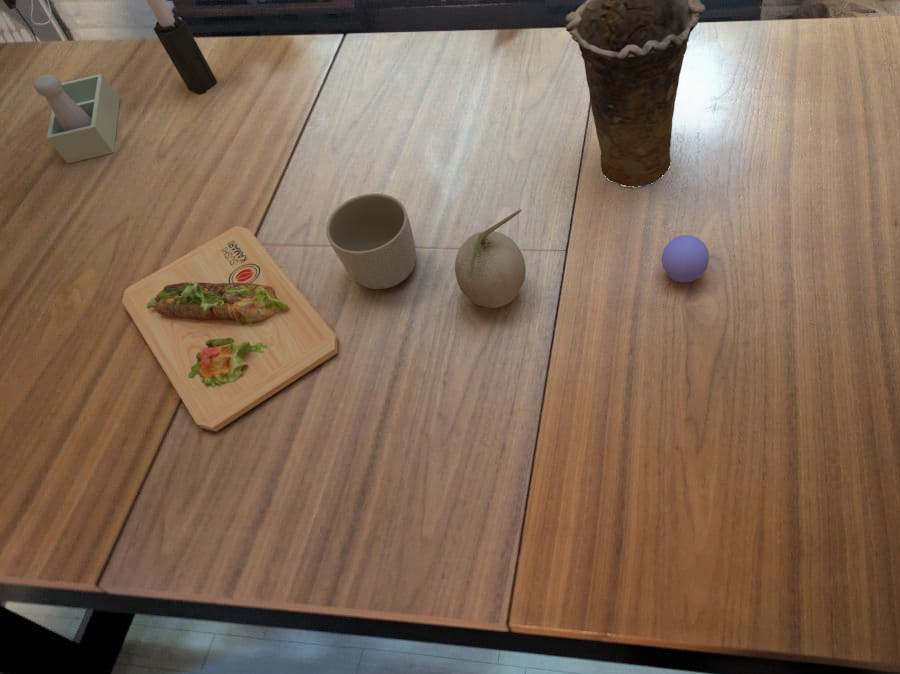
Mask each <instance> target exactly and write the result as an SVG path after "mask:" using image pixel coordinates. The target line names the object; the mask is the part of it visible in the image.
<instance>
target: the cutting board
mask: <svg viewBox="0 0 900 674" xmlns="http://www.w3.org/2000/svg"><path fill="white" fill-rule="evenodd" d="M121 303H122V305H123V306H124V308H125V309H126V311H127V313H128V314H129V316H130V317H131V319H132V321H133V322H134V324H135V326H136V327H137V329H138V330H139V332H140V334H141V335H142V338H143V339H144V340H145V342H146V344H147V345H148V347H149V349H150V350H151V352H152V353H153V355H154V357H155V358H156V360H157V361H158V363H159V365H160V366H161V368H162V370H163V372H164V373H165V375H166V377H167V378H168V380H169V381H170V383H171V385H172V386H173V387H174V390H175V391H176V393H177V394H178V396H179V398H180V399H181V401H182V403H183V404H184V405H185V407H186V409H187V411H188V412H189V414H190V416H191V417H192V419H193V421H194V422H195V424H196V425H197V426H198V427H199V428H201V429H204V430H208V431H211V432H216V433H217V432H218V431H220V430H221V429H223V428H224V427H226V426H227V425H229V424H230V423H232V422H234V421H235V420H237V419H239V417H242V416H243V415H244V414H246V413H247V412H249V411H250V410H252V409H253V408H256V407H257V406H258V405H259V404H261V403H262V402H264V401H266V400H268V399H269V398H270V397H272V396H274V395H275V394H276V393H279V392H280V391H281V390H283V389H284V388H286V387H287V386H289V385H290V384H293V382H295V381H297V380H298V379H300V378H302V377H303V376H304V375H306V374H308V373H309V372H310V371H312V370H314V369H315V368H316V367H318V366H320V365H321V364H323V363H324V362H326V361H327V360H329V359H331V358H332V357H334V356H335V355H336V354H338V346H339V345H338V344H339V338H338V336H337V335H336V333H335V332H334V331H333V329H332V328H331V327H330V326H329V324H328V323H327V322H326V321H325V320H324V319H323V317H322V316H321V315H320V314H319V313H318V311H317V310H316V308H315V307H314V306H313V305H312V304H311V302H310V301H309V300H308V299H307V298H306V297H305V295H304V294H303V293H302V292H301V290H300V289H299V288H298V287H297V286H296V284H295V283H294V282H293V281H292V280H291V278H290V277H289V275H288V274H287V273H286V272H285V271H284V270H283V268H282V267H281V266H280V265H279V264H278V262H277V261H276V260H275V259H274V257H273V256H272V255H271V254H270V253H269V252H268V250H267V249H266V248H265V247H264V245H263V244H262V243H261V242H260V241H259V239H258V238H257V237H256V235H255V234H254V233H253V232H252V231H251V230H250V228H248V227H243V226H237V225H235V226H233V227H231V228H229V229H228V230H225V231H224V232H222V233H221V234H218V235H217V236H215V237H213V238H212V239H210V240H208V241H206V242H205V243H203V244H201V245H199V246H198V247H196V248H194V249H193V250H191V251H189V252H188V253H186V254H184V255H181V257H179V258H177V259H175V260H174V261H172V262H170V263H168V264H167V265H164V266H163V267H161V268H160V269H157V270H155V271H154V272H153V273H150V274H148V276H146V277H143V278H142V279H140V280H138V281H137V282H135V283H133V284H131V285H129V286H128V287H127V288H125V289H124V292H123V296H122V300H121Z"/></svg>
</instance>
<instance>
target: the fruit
mask: <svg viewBox="0 0 900 674" xmlns="http://www.w3.org/2000/svg"><path fill="white" fill-rule="evenodd" d="M521 212H522V209H520V208H519V209H518V210H517V211H514V213H512V214H510V215H509V216H507V217H505V218H504V219H502V220H500V221H499V222H497V223H496V224H494V225H492V226H491V227H489V228H488V229H486V230H484V231H479V232H476V233H473V234H472V235H470V236H468V238H467V239H466V240H465V241H464V242H463V244H462V245H461V246H460V247H459V249H458V252H457V254H456V257H455V260H454V273H455V278H456V282H457V285H458V286H459V289H460V291H461V292H462V294H463V295H464V296H465V297H466V298H467V299H468V300H469V301H471V303H473V304H475V305H477V306H481V307H484V308H490V309H495V308H500V307H504V306H506V305H507V304H509V303H510V302H512V301H513V300H514V299H515V298H516V297H517V296H518V294H519V293H520V291H521V290H522V288H523V285H524V283H525V280H526V273H527V272H526V271H527V269H526V262H525V258H524V255H523V253H522V251H521V249H520V247H519V245H518V244H517V243H516V242H515V241H514V240H513V239H512V238H511V237H510V236H508V235H506V234H504V233H503V232H499V231H496V230H497V229H499V228H500V227H502V226H503V225H505V224H506V223H508V222H509V221H510V220H512V219H513V218H515V217H516V216H517V215H519V214H520V213H521Z"/></svg>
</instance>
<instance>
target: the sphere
mask: <svg viewBox="0 0 900 674" xmlns="http://www.w3.org/2000/svg"><path fill="white" fill-rule="evenodd" d="M709 261H710V253H709V249H708V247H707V246H706V244H705V243H704V242H703V240H701V239H700V238H699V237H697V236H694V235H690V234H682V235H678V236H676V237H674V238H673V239H671V240H670V241H669V242H668V243H667V244H666V246H664V248H663V251H662V255H661V265H662V268H663V270H664V272H665V274H666V275H667V276H668V277H669V278H671V279H672V280H673V281H675V282H678V283H691V282H693V281H696V280H697V279H699V278H700V277H702V276H703V275H704V273H705V272H706V270H707V268H708V266H709Z"/></svg>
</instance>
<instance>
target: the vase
mask: <svg viewBox="0 0 900 674" xmlns="http://www.w3.org/2000/svg"><path fill="white" fill-rule="evenodd" d="M705 12H706V7H705V4H703V3H702V2H701V0H586V1H584V2H583V3H582V4H580V6H578V7H577V8H576V10H575V11H571V12H570V13H569V14H567V15H566V16H565V19H564V20H565V24H566V25H565V29H566V32H568V33H569V34H570V36H571V39H572V40H573V41H574V42H576V43H577V44H578V49H579V51H580V53H581V55H580V56H581V58H582V59H583V63H584V71H585V79H586V83H587V87H588V92H589V100H590V107H591V113H592V116H593V121H594V127H595V133H596V137H597V140H598V144H599V149H600V168H602V169H601V173H602V175H603V174H604V175H605V176H606V178H608V179H609V180H610V181H613V182H616V183H615V184H617V183H619V184H618V185H620V184H622V185H626V186H634V187H638V186H643V187H645V186H647V185H648V184H650V185H652V184H651V183H653V182H655V183H656V181H658V179H659V178H661V177H662V175H664V174H665V173H667V172H668V171H669V170H668V168H669V166H670V167H671V165H670V162H671V163H672V161H671V159H672V158H671V147H672V132H673V119H674V114H675V106H676V105H675V104H676V99H677V95H678V94H677V93H678V88H679V83H680V82H679V81H680V75H681V72H682V67H683V63H684V59H685V55H686V52H687V49H688V42H689V40H690V37H691V33H692V31H693V30H694V29H695V28H696V27H697V25H698V23H699V19H700V18H701V16H702V15H703V14H705ZM669 169H670V168H669ZM604 175H603V176H604ZM665 175H666V174H665ZM665 175H664V176H665ZM606 178H605V179H606ZM659 180H660V179H659ZM653 184H654V183H653ZM644 185H645V186H644Z"/></svg>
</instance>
